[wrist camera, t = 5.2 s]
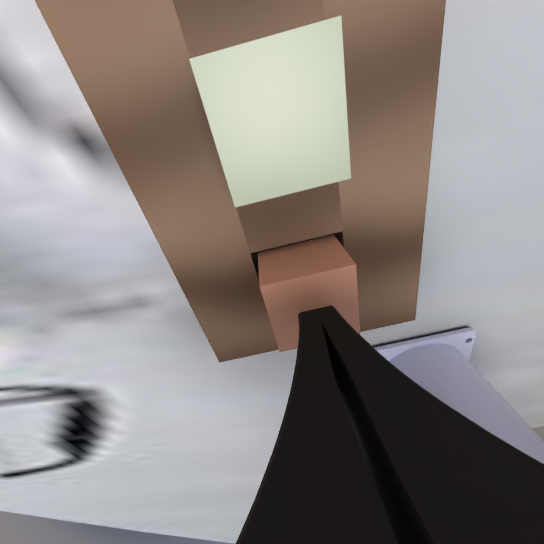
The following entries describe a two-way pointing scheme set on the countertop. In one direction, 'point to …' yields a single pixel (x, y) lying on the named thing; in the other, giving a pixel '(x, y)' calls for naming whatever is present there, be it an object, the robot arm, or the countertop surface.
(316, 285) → the terracotta button
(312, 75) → the sage button
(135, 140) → the button panel
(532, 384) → the countertop surface
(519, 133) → the countertop surface
